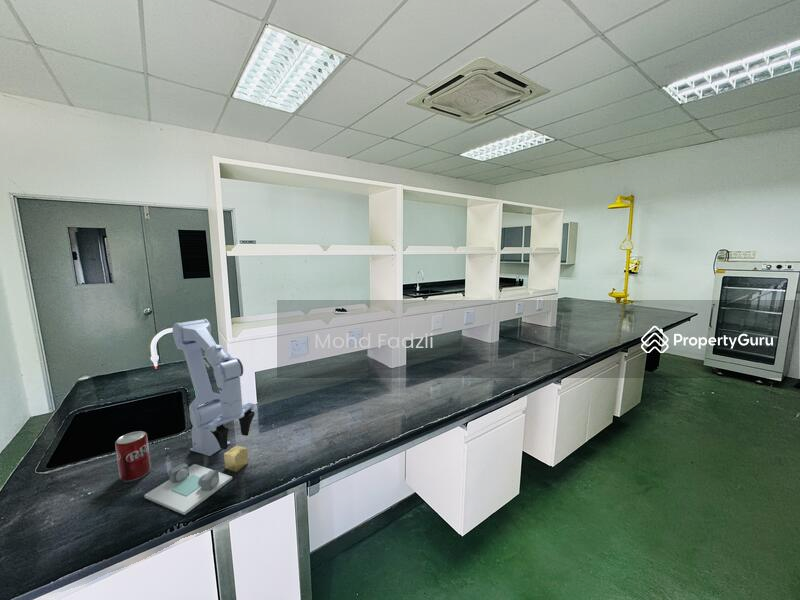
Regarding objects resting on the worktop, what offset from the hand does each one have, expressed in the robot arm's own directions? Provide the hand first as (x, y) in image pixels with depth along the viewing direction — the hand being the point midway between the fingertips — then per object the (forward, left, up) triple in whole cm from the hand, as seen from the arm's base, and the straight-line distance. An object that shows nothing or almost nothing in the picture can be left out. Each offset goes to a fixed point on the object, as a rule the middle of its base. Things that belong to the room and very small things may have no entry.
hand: (234, 441), depth 98 cm
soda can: (-25, -14, -8) cm, 30 cm away
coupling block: (0, 0, -8) cm, 8 cm away
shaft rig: (-4, -12, -8) cm, 15 cm away
